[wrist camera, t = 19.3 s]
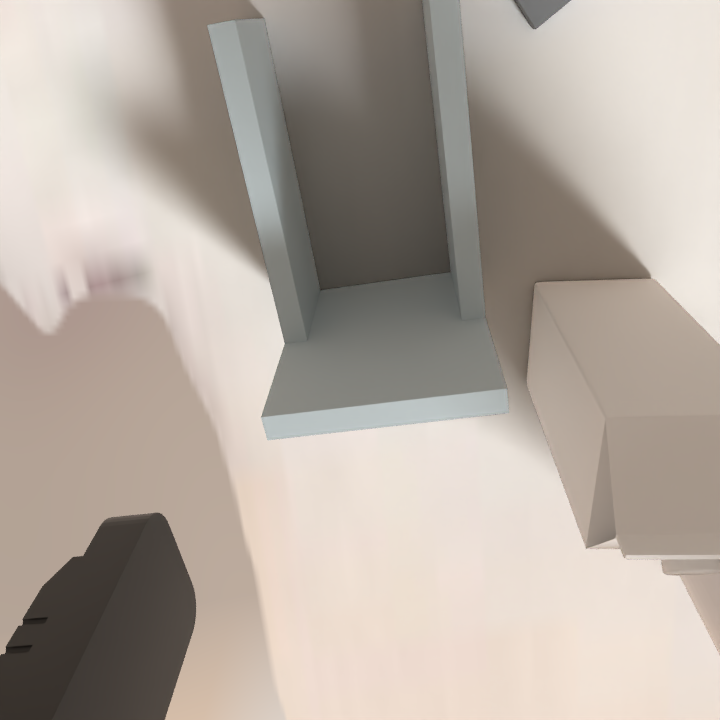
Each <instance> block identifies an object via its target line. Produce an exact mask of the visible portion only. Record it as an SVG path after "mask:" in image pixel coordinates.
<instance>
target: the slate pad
mask: <svg viewBox="0 0 720 720" xmlns="http://www.w3.org/2000/svg"><path fill="white" fill-rule="evenodd" d="M515 1H516V3H517V4H518V6H519V8H520V9H521V11H522V12H523V14H524V16H525V17H526V19H527V20H528V22H529V24H530V25H531V27H532V28H533V29H537V28H538V27H539V26H540V25H542V24H543V23H544V22H545V21H546V20H548V19H549V18H550V17H551V16H552V15H554V14H555V13H556V12H557V11H558V10H560V9H561V8H562V7H563V6H565V5H566V4H567V3H568V2H569V1H571V0H515Z"/></svg>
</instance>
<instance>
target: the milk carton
mask: <svg viewBox="0 0 720 720" xmlns="http://www.w3.org/2000/svg"><path fill="white" fill-rule="evenodd" d="M527 387H528V390H529V392H530V395H531V398H532V401H533V403H534V406H535V409H536V412H537V414H538V417H539V420H540V423H541V425H542V428H543V431H544V434H545V437H546V439H547V442H548V445H549V448H550V450H551V453H552V456H553V459H554V461H555V464H556V467H557V470H558V472H559V475H560V478H561V481H562V483H563V486H564V489H565V492H566V494H567V497H568V500H569V503H570V506H571V508H572V511H573V514H574V517H575V519H576V522H577V525H578V528H579V530H580V533H581V536H582V538H583V541H584V543H585V546H586V549H621V552H622V554H623V556H624V558H625V559H627V560H658V559H661V560H662V562H661V564H662V570H663V573H664V574H667V575H708V574H716V573H719V572H720V561H719V559H720V345H719V344H718V343H717V342H716V341H715V340H714V339H713V338H712V337H711V336H710V335H709V334H708V333H707V331H706V330H705V329H704V328H703V327H702V326H701V325H700V324H699V323H698V322H697V321H696V320H695V319H694V318H693V317H692V316H691V315H690V314H689V313H688V312H687V311H686V310H685V309H684V308H683V307H682V306H681V305H680V304H679V303H678V302H677V301H676V300H675V299H674V298H673V297H672V296H671V295H670V294H669V293H668V292H667V291H666V290H665V289H664V288H663V287H662V286H661V285H660V284H659V283H658V282H657V281H656V280H655V279H616V280H583V281H551V282H537V283H535V285H534V297H533V309H532V322H531V334H530V347H529V359H528V371H527Z"/></svg>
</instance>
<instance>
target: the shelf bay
mask: <svg viewBox="0 0 720 720" xmlns="http://www.w3.org/2000/svg"><path fill="white" fill-rule="evenodd" d="M422 5H423V14H424V23H425V33H426V42H427V52H428V61H429V71H430V80H431V90H432V99H433V108H434V118H435V127H436V137H437V146H438V156H439V165H440V175H441V184H442V193H443V203H444V212H445V222H446V231H447V241H448V250H449V260H450V269H451V272H447V273H440V274H433V275H426V276H419V277H411V278H404V279H397V280H390V281H383V282H375V283H368V284H361V285H354V286H347V287H339V288H332V289H325V290H320V286H319V281H318V276H317V271H316V266H315V262H314V257H313V252H312V247H311V242H310V237H309V233H308V228H307V223H306V218H305V213H304V208H303V204H302V199H301V194H300V189H299V184H298V179H297V175H296V170H295V165H294V160H293V155H292V150H291V146H290V141H289V136H288V131H287V126H286V121H285V117H284V112H283V107H282V102H281V97H280V92H279V88H278V83H277V78H276V73H275V68H274V63H273V59H272V54H271V49H270V44H269V39H268V34H267V30H266V25H265V20H264V18H258V19H239V20H231V21H225V22H220V23H215V24H210V25H207V27H208V31H209V35H210V39H211V43H212V47H213V51H214V55H215V59H216V63H217V68H218V72H219V76H220V80H221V84H222V88H223V92H224V96H225V100H226V104H227V108H228V113H229V117H230V121H231V125H232V129H233V133H234V137H235V141H236V145H237V149H238V154H239V158H240V162H241V166H242V170H243V174H244V178H245V182H246V186H247V190H248V195H249V199H250V203H251V207H252V211H253V215H254V219H255V223H256V227H257V231H258V236H259V240H260V244H261V248H262V252H263V256H264V260H265V264H266V268H267V272H268V277H269V281H270V285H271V289H272V293H273V297H274V301H275V305H276V309H277V313H278V318H279V322H280V326H281V330H282V334H283V338H284V342H285V345H284V348H283V351H282V354H281V357H280V361H279V364H278V367H277V370H276V373H275V376H274V379H273V382H272V385H271V388H270V391H269V395H268V398H267V401H266V404H265V407H264V410H263V413H262V416H261V419H262V422H263V426H264V429H265V433H266V437H267V440H275V439H283V438H292V437H301V436H310V435H319V434H328V433H336V432H345V431H354V430H363V429H372V428H381V427H390V426H398V425H407V424H416V423H425V422H434V421H443V420H452V419H460V418H469V417H478V416H487V415H496V414H505V413H509V405H508V391H507V386H506V382H505V379H504V376H503V373H502V369H501V366H500V363H499V360H498V356H497V353H496V350H495V346H494V343H493V340H492V337H491V333H490V330H489V327H488V324H487V320H486V315H485V303H484V291H483V279H482V267H481V255H480V242H479V230H478V218H477V206H476V194H475V182H474V170H473V158H472V145H471V133H470V121H469V109H468V97H467V85H466V73H465V60H464V48H463V36H462V24H461V12H460V0H422Z"/></svg>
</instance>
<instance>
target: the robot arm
mask: <svg viewBox="0 0 720 720" xmlns="http://www.w3.org/2000/svg"><path fill="white" fill-rule="evenodd" d="M719 561H720V559H719ZM680 577H681V579H682V581H683V583H684V585H685V587H686V589H687V592H688V594H689V596H690V598H691V600H692V601H693V603H694V605H695V607H696V609H697V611H698V613H699V615H700V617H701V619H702V621H703V623H704V625H705V627H706V629H707V631H708V633H709V635H710V637H711V639H712V641H713V643H714V645H715V647H716V649H717V651H718V652H719V654H720V572H719V573H716V574H708V575H680ZM195 617H196V599H195V592H194V588H193V585H192V582H191V580H190V577H189V574H188V572H187V569H186V567H185V564H184V562H183V559H182V557H181V554H180V551H179V549H178V546H177V544H176V542H175V539H174V536H173V534H172V532H171V529H170V526H169V524H168V521H167V520H166V518H165V517H164V516H163V515H162V514H160V513H151V514H140V515H131V516H121V517H111V518H108V519H106V520H105V521H104V522H103V523H102V524H101V526H100V527H99V529H98V531H97V533H96V534H95V536H94V538H93V540H92V541H91V543H90V545H89V547H88V548H87V550H86V552H85V554H84V556H80V557H73V558H72V559H70V561H68V562H67V563H66V564H65V565H64V566H63V567H62V568H61V569H60V570H59V571H58V572H57V573H56V574H55V575H54V576H53V577H52V578H51V579H50V580H49V581H48V582H47V583H46V584H44V586H42V588H41V590H40V591H39V593H38V595H37V596H36V598H35V600H34V601H33V603H32V605H31V606H30V608H29V609H28V611H27V613H26V614H25V616H24V618H23V625H22V626H18V628H17V629H16V631H15V633H14V634H13V636H12V637H11V639H10V641H9V642H8V644H7V646H6V653H5V654H1V655H0V720H165V717H166V714H167V711H168V707H169V704H170V701H171V698H172V695H173V692H174V688H175V686H176V682H177V679H178V676H179V673H180V670H181V667H182V664H183V661H184V658H185V654H186V651H187V648H188V645H189V642H190V639H191V636H192V633H193V629H194V624H195Z"/></svg>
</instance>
